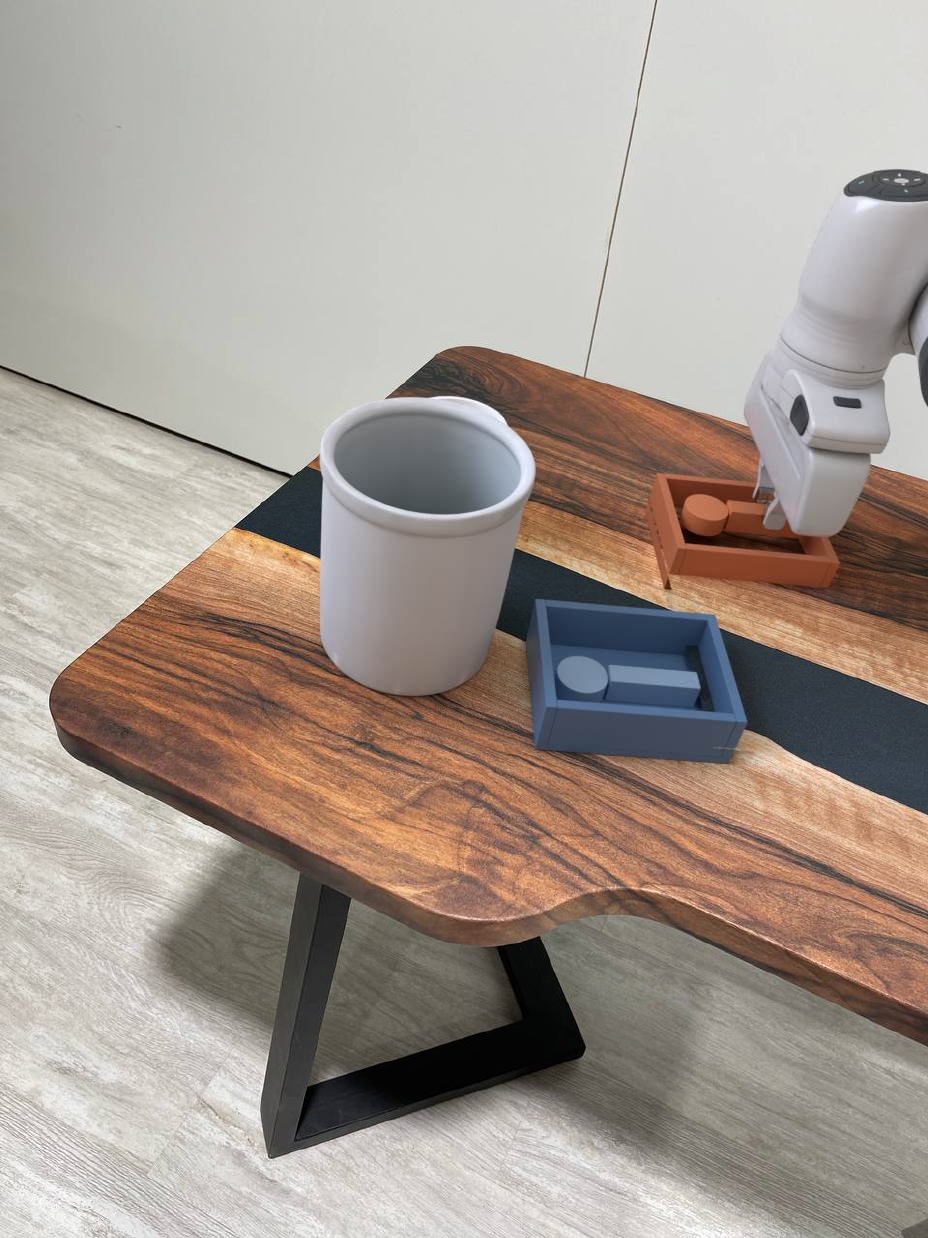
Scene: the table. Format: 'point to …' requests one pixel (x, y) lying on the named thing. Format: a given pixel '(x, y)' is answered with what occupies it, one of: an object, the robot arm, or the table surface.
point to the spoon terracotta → (726, 517)
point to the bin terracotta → (724, 560)
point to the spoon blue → (624, 683)
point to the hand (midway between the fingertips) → (766, 514)
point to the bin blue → (634, 644)
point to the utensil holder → (417, 540)
